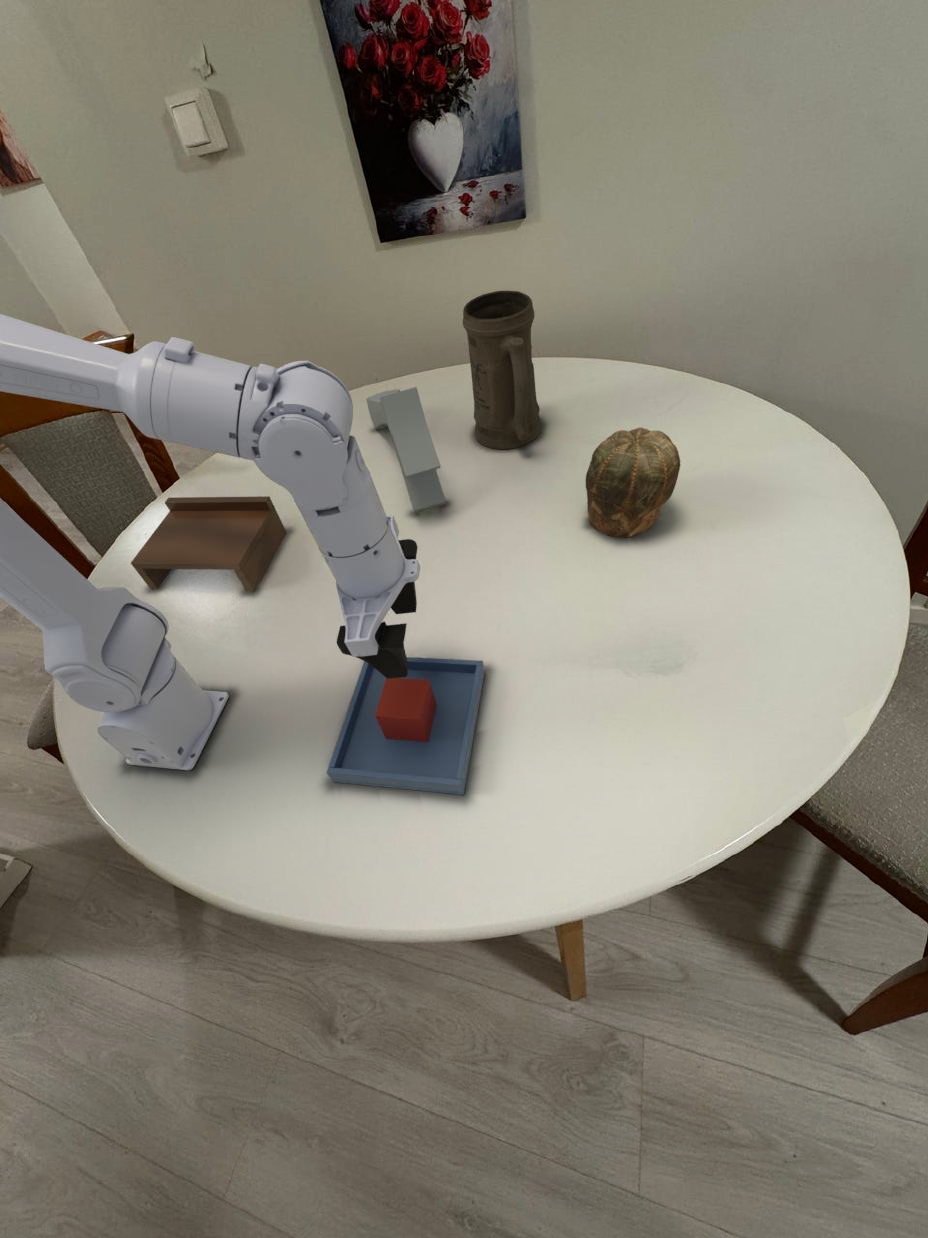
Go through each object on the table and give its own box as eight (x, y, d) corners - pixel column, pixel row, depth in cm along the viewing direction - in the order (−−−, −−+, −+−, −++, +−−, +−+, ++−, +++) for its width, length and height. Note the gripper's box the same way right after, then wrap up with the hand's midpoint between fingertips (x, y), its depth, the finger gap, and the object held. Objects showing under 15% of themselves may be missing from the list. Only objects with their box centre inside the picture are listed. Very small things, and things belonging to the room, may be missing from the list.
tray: (463, 795, 54) (460, 785, 53) (332, 782, 57) (326, 772, 56) (484, 671, 63) (482, 660, 62) (370, 665, 66) (366, 654, 65)
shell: (672, 547, 72) (686, 464, 63) (582, 544, 75) (583, 464, 66) (670, 493, 79) (682, 411, 70) (587, 492, 81) (589, 413, 72)
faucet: (393, 492, 105) (414, 524, 77) (364, 396, 98) (375, 394, 71) (426, 483, 105) (458, 511, 78) (399, 387, 99) (424, 380, 71)
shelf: (254, 592, 77) (233, 555, 72) (150, 589, 81) (123, 554, 76) (286, 532, 85) (269, 496, 80) (190, 531, 88) (168, 497, 83)
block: (428, 742, 58) (419, 718, 55) (385, 739, 59) (374, 715, 56) (437, 704, 61) (429, 679, 58) (396, 701, 62) (386, 677, 58)
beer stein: (462, 425, 97) (446, 301, 82) (519, 404, 99) (514, 279, 84) (505, 475, 88) (497, 346, 73) (566, 450, 90) (571, 320, 74)
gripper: (390, 595, 39) (437, 703, 49) (412, 469, 49) (448, 581, 59) (294, 606, 41) (358, 709, 51) (333, 480, 50) (381, 588, 60)
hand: (402, 641), depth 55 cm, fingers open, 7 cm apart
